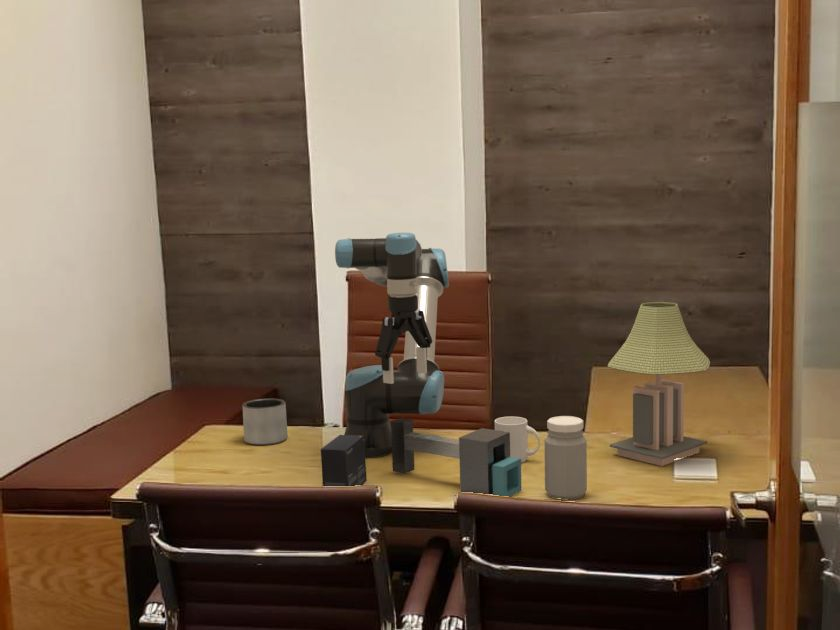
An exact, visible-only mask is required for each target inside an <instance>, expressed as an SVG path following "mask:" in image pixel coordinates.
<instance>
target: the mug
mask: <svg viewBox="0 0 840 630" xmlns="http://www.w3.org/2000/svg"><path fill="white" fill-rule="evenodd" d="M494 430H497V431H504V432H510V457H516V458H521V464H522V463H525V462H526V461H528V457H530V456H534V455H535V454H537V453H538V451H539V449H540V446H541V438H540V435H539V433H538V431H536V430H535V429H534V428H533V427H532V426H529V425H528V420H527V418H525V417H521V416H503V417H502V416H501V417H498V418H496V419H494ZM528 434H532V435H534V436H535V437H536V439H537V441H538V445H537V447H536V448H535V449H531V448H528V447H529V444H528Z"/></svg>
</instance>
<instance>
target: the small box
mask: <svg viewBox="0 0 840 630" xmlns="http://www.w3.org/2000/svg"><path fill="white" fill-rule="evenodd" d="M320 457H321V458H320V462H321V475H322V487H323V486H355V485H362V486H363V485H364V484H365V483H366V482H367V479H368V478H367V477H368V476H367V465H366V464H367V463H366V458H365V442H364V436H360V435H344V434H339V435H337V436H336V437H335V438H334V439H333V440H331V441H329V442H328V443H327V444H326V445H324V446H323V447H322V448H320Z"/></svg>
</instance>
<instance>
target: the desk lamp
mask: <svg viewBox="0 0 840 630" xmlns="http://www.w3.org/2000/svg"><path fill="white" fill-rule="evenodd" d="M679 307H680V306H679V305H678V303H676V302H668V301H667V302H666V301H665V302H664V301H652V302H644V303H643V302H642V303H641V304H640V306H639V308H638V312H637V315H636V317H635V320H634V323H633V325H632V327H631V331H630V333H629V335H628V336H627V338H626V340H625V342H624V343H623V344H622V346H621V347H620V348H619V349H618V351H616V353H615V355H613V357H612V358H611V360H609V362H608V364H607V367H608V369H613V370H618V371H622V372H628V373H629V372H630V373H634V374H635V373H636V374H641V375H651V376H653V375H655V382H650V381H649V382H646V383H644V385H643V386H644V387H643V386H639V385H635V386H633V391H632V392H633V394H632V437H629V438H626V439H623V440H620V441H616V442H614V443H611V444H609V448H613V449H616V452H617V453H616V455H617V456H619V457H623V458H628V459H632V460H635V461H640V462H643V463H648V464H653V465H657V466H660V467H663V466H666V465H668V464H671V463H674V462H675V461H674V459H676V458H682V457H685V456H688V457H690V456H689V455H691V454H694V453H696V454H698V453H697V452H699V453H700V447H701V446H704V445H706V444H708V441H707V440H702V439H698V438H693V437H690V436H684V426H685V425H684V422H685V421H684V420H685V418H684V416H685V414H684V413H685V406H684V405H685V383H684V382H679V381H672V380H667V379H663V375H680V374H691V373H699V372H705V371H706V370H707V369H708V368H709V367H710V364H711V362H710V359H709V357H707V355H706V354H705V353H704V352H703V351H702V350H701V348H700V347H698V346H697V344H696V343H695V341H694V340H693V339H692V337H691V336H690V334H689V332H688V330H687V327H686V325H685V323H684V319H683V316H682V314H681V311H680V308H679ZM694 455H695V454H694ZM691 456H692V455H691ZM685 458H686V457H685ZM682 459H683V458H682ZM673 461H674V462H673Z"/></svg>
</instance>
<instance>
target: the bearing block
mask: <svg viewBox="0 0 840 630" xmlns="http://www.w3.org/2000/svg"><path fill="white" fill-rule="evenodd" d="M458 440H459V458H460V459H459V490H460V491H459V492H473V493H483V494H493V471H492V465H494V464H496V463H498V462H500V461H502V460H504V459H506V458H508V457H510V432H504V431H497V430H495V429H490V428H483V427H481V428H479V429H477V430H473V431H471V432H469V433H467V434H464V435H461V436H460V437H458ZM507 485H508V476H507Z"/></svg>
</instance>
